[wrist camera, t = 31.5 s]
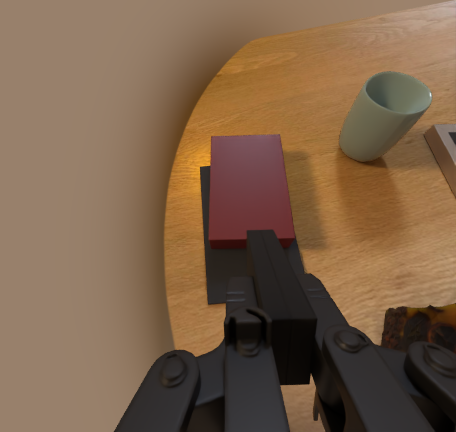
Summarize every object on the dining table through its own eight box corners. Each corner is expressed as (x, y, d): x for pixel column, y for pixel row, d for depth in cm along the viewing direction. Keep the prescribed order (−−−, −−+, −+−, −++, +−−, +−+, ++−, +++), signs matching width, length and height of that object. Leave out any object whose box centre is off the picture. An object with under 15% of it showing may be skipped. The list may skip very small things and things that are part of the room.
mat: (308, 293, 27) (309, 293, 27) (208, 304, 27) (208, 304, 27) (276, 160, 36) (276, 159, 36) (200, 168, 36) (200, 166, 35)
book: (288, 247, 29) (276, 150, 36) (295, 238, 26) (280, 134, 33) (211, 249, 30) (213, 152, 36) (208, 240, 26) (211, 136, 33)
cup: (364, 178, 34) (411, 124, 25) (322, 148, 37) (350, 90, 28) (392, 150, 36) (445, 91, 27) (351, 124, 39) (386, 63, 30)
